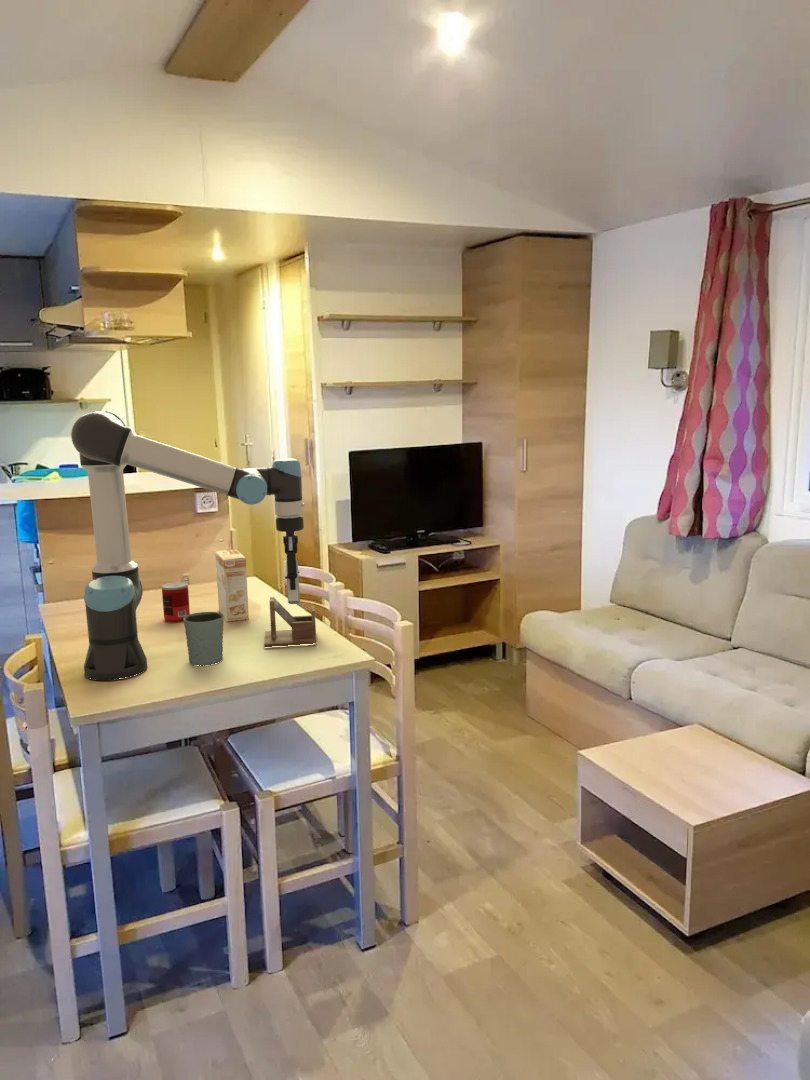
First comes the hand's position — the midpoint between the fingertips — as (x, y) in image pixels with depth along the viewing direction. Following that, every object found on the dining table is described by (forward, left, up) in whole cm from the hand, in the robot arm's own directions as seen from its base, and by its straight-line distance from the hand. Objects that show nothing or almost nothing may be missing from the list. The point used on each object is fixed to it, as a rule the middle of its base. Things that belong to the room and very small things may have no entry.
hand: (293, 598), depth 226 cm
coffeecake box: (+30, +19, -12) cm, 38 cm away
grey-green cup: (-13, +23, -12) cm, 29 cm away
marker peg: (0, 0, -1) cm, 1 cm away
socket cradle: (0, +1, -12) cm, 12 cm away
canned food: (+28, +36, -12) cm, 47 cm away
